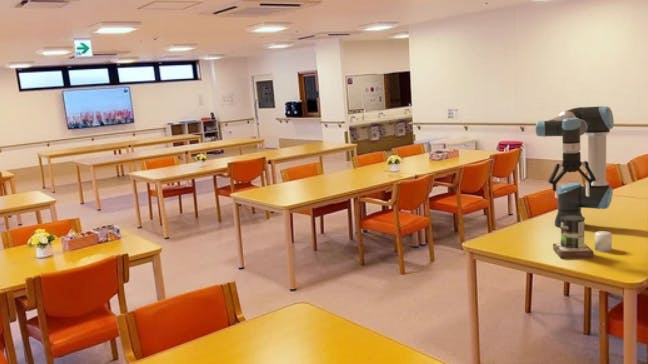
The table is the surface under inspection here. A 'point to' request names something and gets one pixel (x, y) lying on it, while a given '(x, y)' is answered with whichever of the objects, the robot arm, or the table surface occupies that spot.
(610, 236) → the cream egg shape
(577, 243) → the coffee can
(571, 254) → the picture frame
